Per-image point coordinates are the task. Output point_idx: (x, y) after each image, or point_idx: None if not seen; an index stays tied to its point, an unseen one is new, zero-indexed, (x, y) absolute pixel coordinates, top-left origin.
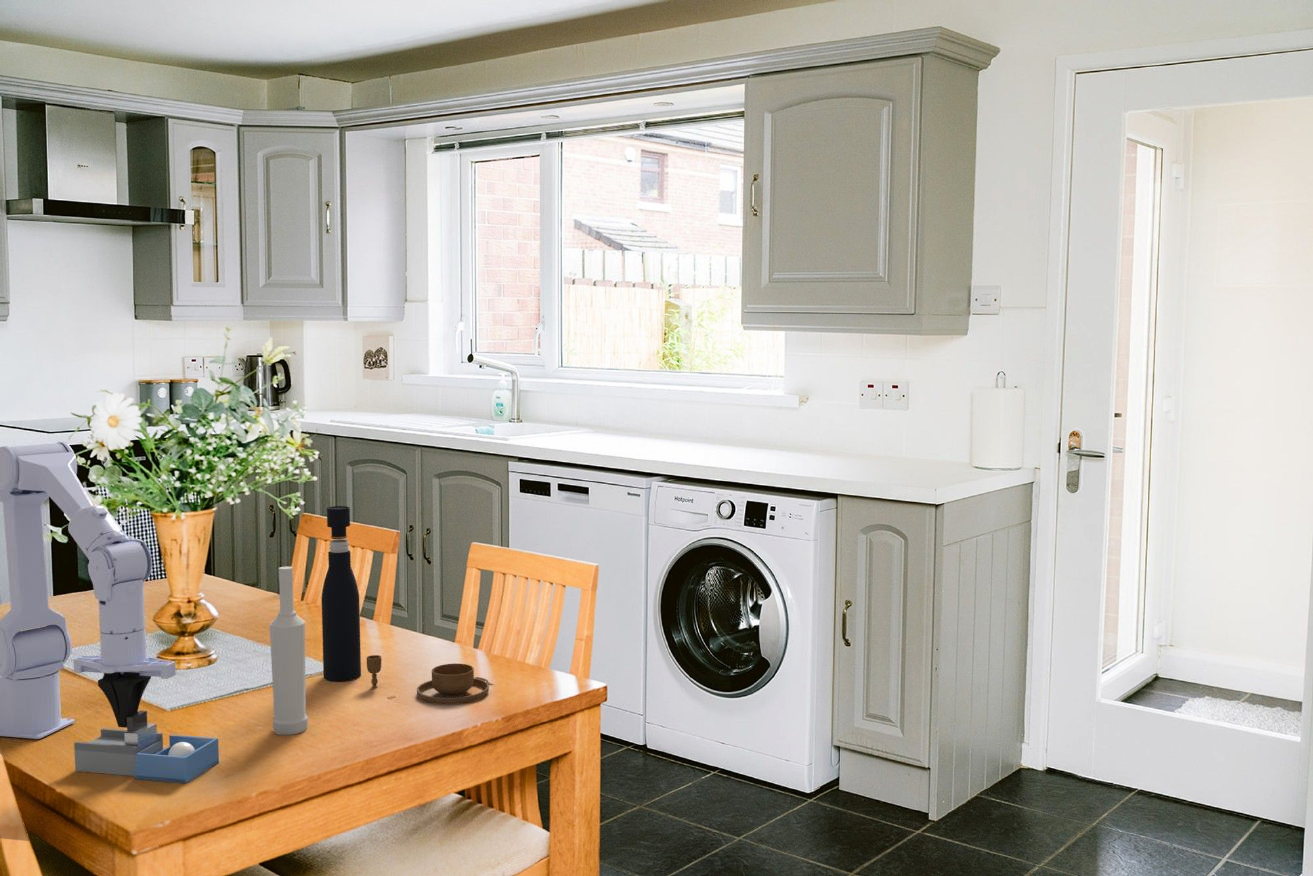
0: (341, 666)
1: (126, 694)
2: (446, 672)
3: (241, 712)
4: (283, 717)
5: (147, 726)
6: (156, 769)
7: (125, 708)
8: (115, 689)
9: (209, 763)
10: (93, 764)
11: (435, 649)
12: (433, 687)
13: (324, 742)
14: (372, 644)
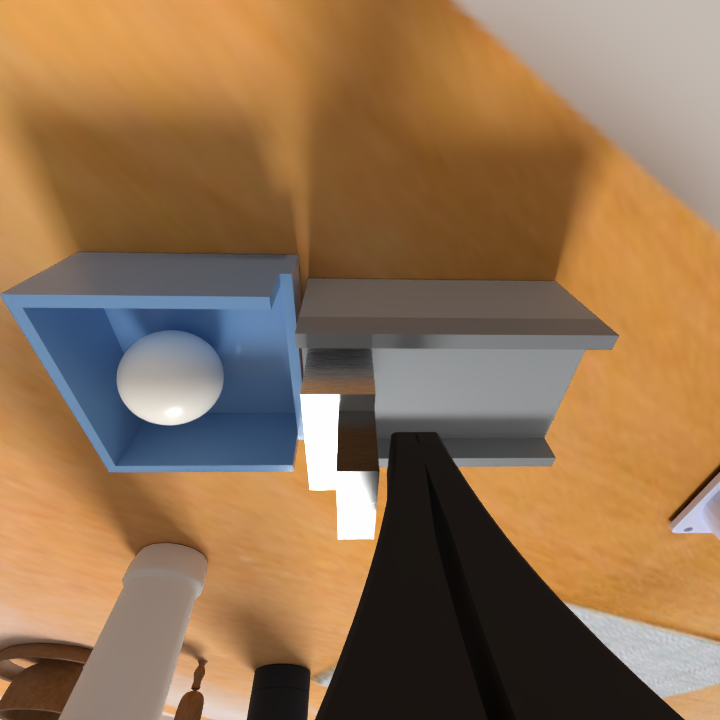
0: (263, 698)
1: (357, 646)
2: None
3: (338, 592)
4: (143, 586)
5: (324, 466)
6: (185, 269)
7: (386, 521)
8: (478, 705)
9: None
10: (490, 292)
11: (235, 714)
12: None
13: (35, 530)
14: None
